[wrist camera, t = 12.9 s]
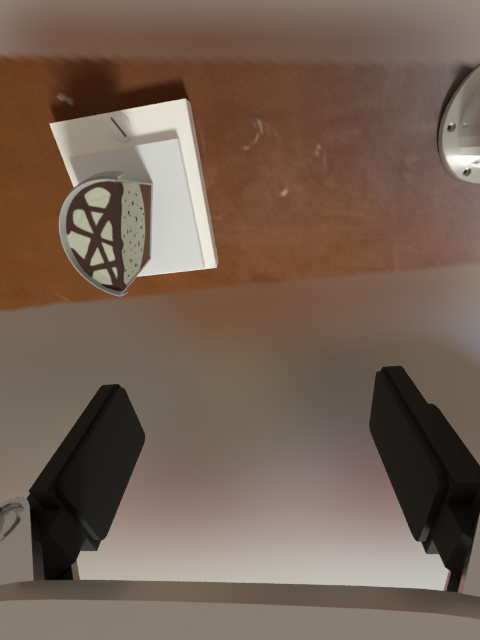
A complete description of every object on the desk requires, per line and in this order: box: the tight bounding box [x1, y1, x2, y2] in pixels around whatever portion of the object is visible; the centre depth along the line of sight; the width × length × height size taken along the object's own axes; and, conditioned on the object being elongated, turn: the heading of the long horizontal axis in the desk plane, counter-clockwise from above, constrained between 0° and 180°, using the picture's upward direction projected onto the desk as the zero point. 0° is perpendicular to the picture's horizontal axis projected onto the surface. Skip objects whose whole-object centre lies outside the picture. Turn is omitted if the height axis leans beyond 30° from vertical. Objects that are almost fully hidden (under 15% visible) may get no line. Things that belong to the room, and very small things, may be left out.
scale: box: [50, 98, 218, 277], centre depth 36 cm, size 16×19×4 cm
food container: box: [59, 171, 153, 296], centre depth 31 cm, size 12×6×10 cm, turn 169°
